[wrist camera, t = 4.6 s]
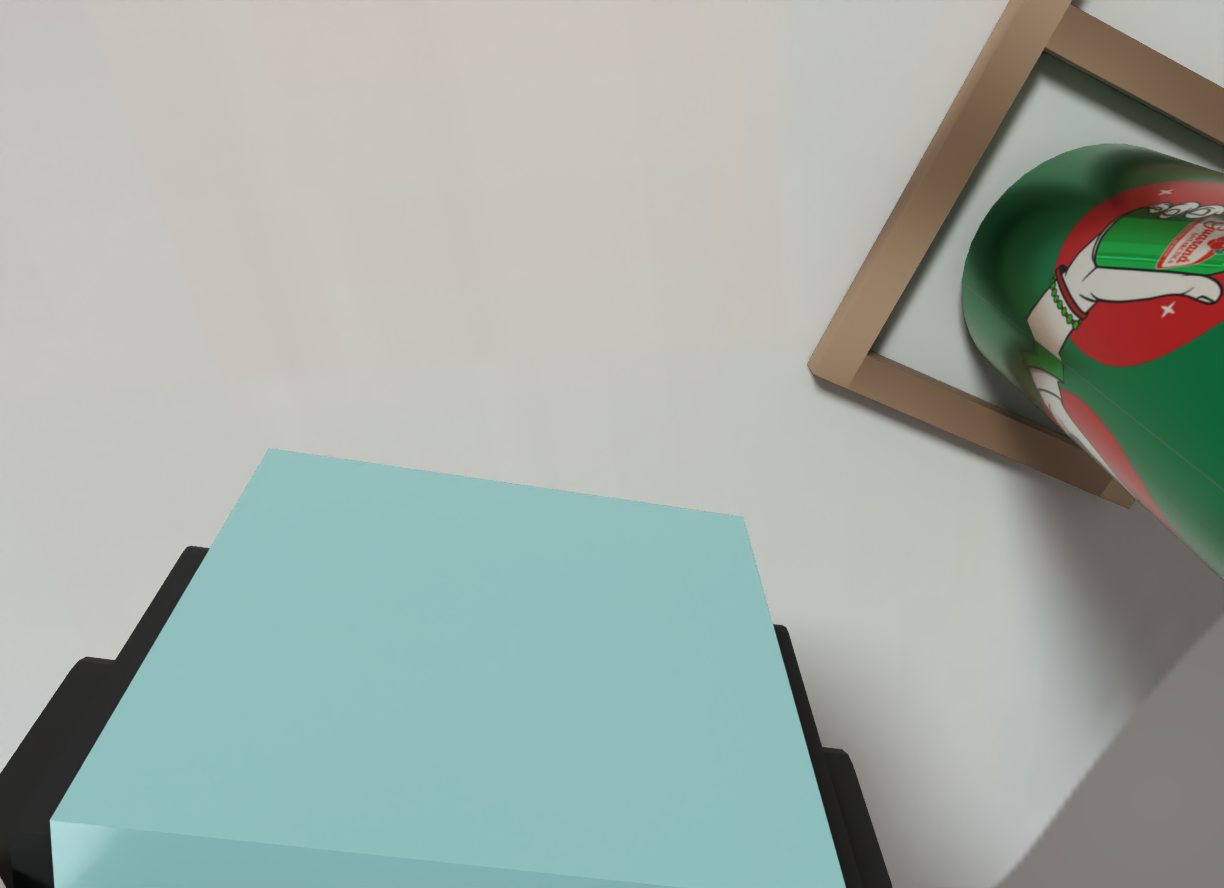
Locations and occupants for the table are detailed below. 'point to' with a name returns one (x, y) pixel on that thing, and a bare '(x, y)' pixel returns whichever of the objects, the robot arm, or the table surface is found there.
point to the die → (454, 701)
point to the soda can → (1116, 320)
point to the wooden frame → (955, 150)
